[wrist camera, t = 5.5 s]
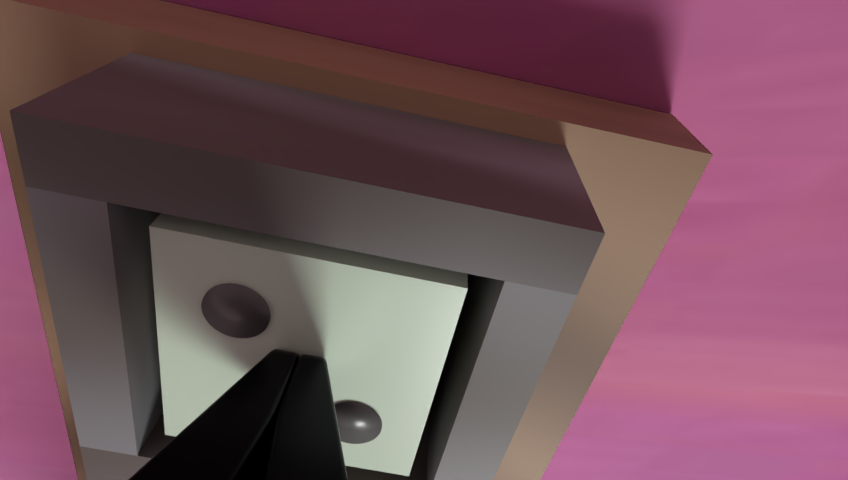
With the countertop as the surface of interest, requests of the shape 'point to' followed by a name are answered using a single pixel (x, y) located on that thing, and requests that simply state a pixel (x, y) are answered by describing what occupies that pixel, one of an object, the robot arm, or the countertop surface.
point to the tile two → (303, 328)
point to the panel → (327, 208)
